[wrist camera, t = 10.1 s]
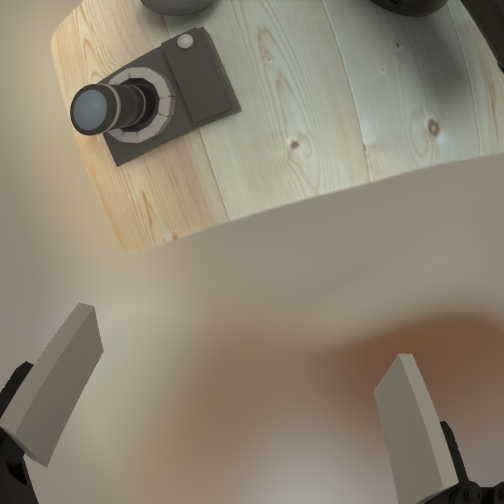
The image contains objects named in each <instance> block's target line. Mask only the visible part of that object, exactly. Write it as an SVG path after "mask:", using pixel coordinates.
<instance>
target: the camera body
mask: <svg viewBox="0 0 504 504" xmlns="http://www.w3.org/2000/svg"><path fill="white" fill-rule="evenodd" d="M97 84H112V85H136V86H145V87H147V88H149V89H150V90H151V91H152V92H153V94H154V96H155V100H156V106H155V110H154V112H153V114H152V116H151V117H150V118H149V119H148V120H147V121H145V122H143V123H140V124H135V125H132V126H128V127H122V128H118V129H114V130H110V131H106V132H104V133H103V136H104V138H105V140H106V143H107V145H108V147H109V150H110V152H111V154H112V156H113V159H114V161H115V163H116V165H117V167H118V166H120V165H122V164H124V163H127V162H129V161H131V160H133V159H135V158H137V157H139V156H140V155H142V154H144V153H146V152H148V151H150V150H152V149H154V148H156V147H158V146H160V145H163V144H165V143H167V142H169V141H171V140H173V139H175V138H177V137H180V136H182V135H184V134H186V133H189V132H191V131H193V130H195V129H198V128H200V127H202V126H205V125H207V124H209V123H212V122H214V121H217V120H219V119H222V118H224V117H227V116H229V115H232V114H235V113H237V112H240V111H242V110H241V107H240V105H239V102H238V100H237V97H236V95H235V93H234V90H233V88H232V85H231V83H230V81H229V78H228V76H227V74H226V71H225V69H224V67H223V64H222V62H221V60H220V57H219V55H218V53H217V50H216V48H215V46H214V44H213V41H212V39H211V37H210V35H209V33H208V32H207V31H206V30H205V29H204V27H200V28H198V29H197V28H193V29H191V30H189V31H187V32H184V33H182V34H180V35H178V36H176V37H174V38H172V39H170V40H168V41H165V42H163V43H162V44H161V46H160V47H158V48H156V49H154V50H152V51H150V52H148V53H146V54H144V55H143V56H141V57H139V58H137V59H136V60H134V61H132V62H130V63H129V64H127V65H125V66H124V67H122V68H120V69H119V70H117V71H115V72H114V73H112V74H111V75H109V76H108V77H106V78H105V79H103V80H102V81H100V82H99V83H97Z"/></svg>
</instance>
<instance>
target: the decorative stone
mask: <svg viewBox="0 0 504 504" xmlns="http://www.w3.org/2000/svg"><path fill="white" fill-rule="evenodd" d="M213 1H214V0H141V2H142V3H143V4H144V5H145V6H146V7H148V8H149V9H150V10H152V11H154V12H156V13H159V14H163V15H169V16H181V15H187V14H191V13H194V12H197V11H199V10H201V9H203V8H205V7H206V6H208V5H209V4H210V3H212V2H213Z"/></svg>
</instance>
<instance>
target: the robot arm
mask: <svg viewBox="0 0 504 504" xmlns="http://www.w3.org/2000/svg"><path fill="white" fill-rule="evenodd" d="M371 1H373V2H374V3H376V4H377V5H379V6H381V7H383V8H385V9H387V10H389V11H391V12H394V13H397V14H400V15H404V16H411V17H420V16H425V15H428V14H431V13H433V12H435V11H437V10H439V9H440V8H441V7H443V6H444V5H445V3H446V2H447V0H371ZM460 1H461V2H462V4H463V5H464V7H465V8H466V10H467V11H468V13H469V14H470V16H471V17H472V19H473V20H474V22H475V23H476V25H477V27H478V28H479V30H480V31H481V33H482V35H483V37H484V38H485V40H486V42H487V44H488V45H489V47H490V49H491V51H492V53H493V55H494V56H495V58H496V60H497V65H498V67H499V69H500V71H501V72H502V73H503V74H504V0H460ZM103 352H104V351H103V346H102V342H101V338H100V333H99V329H98V324H97V318H96V314H95V308H94V306H90V305H87V304H83V303H79V304H78V305H77V307H76V308H75V309H74V310H73V312H72V313H71V314H70V315H69V317H68V318H67V319H66V321H65V322H64V324H63V325H62V326H61V328H60V329H59V330H58V331H57V333H56V334H55V336H54V337H53V338H52V340H51V341H50V343H49V344H48V345H47V347H46V348H45V350H44V351H43V352H42V354H41V355H40V357H39V358H38V360H37V361H36V363H35V364H34V365H33V364H31V363H29V362H27V361H26V362H25V363H23V364H22V365H20V366H19V367H18V368H16V370H15V371H14V373H13V374H12V376H11V377H10V380H8V382H7V383H6V385H5V388H3V389H2V391H1V393H0V504H39V503H38V501H37V498H36V495H35V492H34V490H33V487H32V484H31V480H30V477H29V474H28V471H27V467H26V464H25V461H24V459H23V456H24V454H25V453H26V454H27V455H28V456H29V457H30V458H31V459H32V460H34V461H36V462H38V463H40V464H41V465H43V466H45V467H47V466H48V463H49V461H50V459H51V456H52V454H53V452H54V449H55V447H56V445H57V443H58V440H59V438H60V436H61V434H62V432H63V430H64V428H65V425H66V423H67V421H68V419H69V417H70V414H71V413H72V411H73V409H74V407H75V405H76V403H77V401H78V399H79V397H80V395H81V393H82V391H83V389H84V387H85V385H86V383H87V381H88V379H89V378H90V376H91V374H92V372H93V370H94V368H95V366H96V364H97V363H98V361H99V359H100V357H101V355H102V353H103ZM374 396H375V400H376V403H377V407H378V411H379V415H380V419H381V423H382V427H383V431H384V436H385V440H386V444H387V449H388V453H389V457H390V462H391V467H392V472H393V477H394V482H395V487H396V493H397V498H398V504H423V503H424V504H504V482H500V483H499V484H497V485H496V486H494V487H479V485H478V484H477V483H475V482H472V481H469V479H468V477H467V474H466V471H465V467H464V464H463V461H462V458H461V455H460V452H459V450H458V446H457V443H456V442H455V438H454V435H453V432H452V430H451V428H450V427H449V426H448V424H447V423H446V422H445V421H442V422H439V420H438V417H437V414H436V412H435V409H434V406H433V404H432V401H431V398H430V396H429V394H428V391H427V389H426V386H425V384H424V381H423V379H422V376H421V374H420V372H419V369H418V367H417V365H416V362H415V360H414V358H413V356H412V354H398V355H397V358H396V359H395V360H394V362H393V364H392V365H391V366H390V368H389V370H388V371H387V373H386V374H385V376H384V377H383V379H382V380H381V382H380V383H379V385H378V386H377V387H376V389H375V390H374Z"/></svg>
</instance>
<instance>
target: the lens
mask: <svg viewBox="0 0 504 504" xmlns="http://www.w3.org/2000/svg"><path fill="white" fill-rule="evenodd" d="M155 106H156V100H155V96H154V94H153V92H152V91H151V90H150V89H149V88H147V87H145V86H136V85H112V84H91V85H87V86H85V87H83V88H82V89H80V90H79V91H78V92H77V94H76V95H75V97H74V98H73V101H72V104H71V108H70V116H71V121H72V124H73V126H74V127H75V129H76V130H77V131H78V132H80V133H81V134H84V135H95V134H100V133H104V132H106V131H110V130H114V129H118V128H122V127H128V126H132V125H135V124H140V123H143V122H145V121H147V120H148V119H149V118H150V117H151V116H152V114H153V112H154V110H155Z"/></svg>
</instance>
